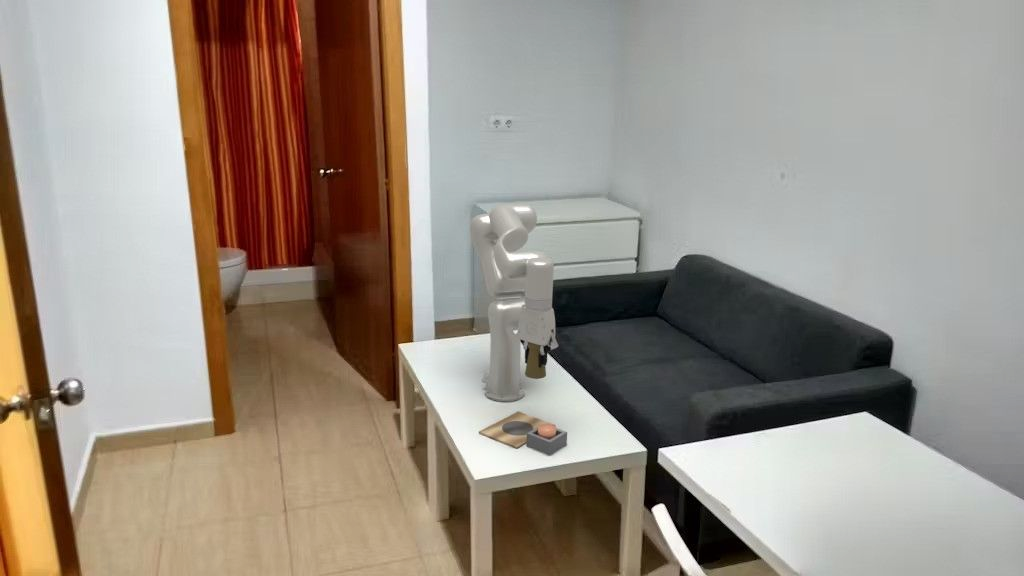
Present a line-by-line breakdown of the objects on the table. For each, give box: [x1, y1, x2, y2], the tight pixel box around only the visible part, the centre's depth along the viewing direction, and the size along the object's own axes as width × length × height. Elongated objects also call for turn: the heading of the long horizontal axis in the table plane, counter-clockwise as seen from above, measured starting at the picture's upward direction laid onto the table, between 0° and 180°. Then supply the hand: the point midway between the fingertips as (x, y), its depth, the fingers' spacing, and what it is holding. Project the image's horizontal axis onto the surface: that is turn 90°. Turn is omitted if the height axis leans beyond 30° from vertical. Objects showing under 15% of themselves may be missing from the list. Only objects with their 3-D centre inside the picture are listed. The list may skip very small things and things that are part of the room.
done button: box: [538, 423, 557, 440], centre depth 217 cm, size 5×5×3 cm
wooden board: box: [478, 410, 556, 450], centre depth 226 cm, size 14×18×1 cm
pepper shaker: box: [524, 342, 547, 380], centre depth 220 cm, size 6×6×11 cm
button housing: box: [525, 427, 568, 456], centre depth 217 cm, size 8×8×4 cm
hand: (535, 363), depth 221 cm, fingers closed on pepper shaker, 3 cm apart
